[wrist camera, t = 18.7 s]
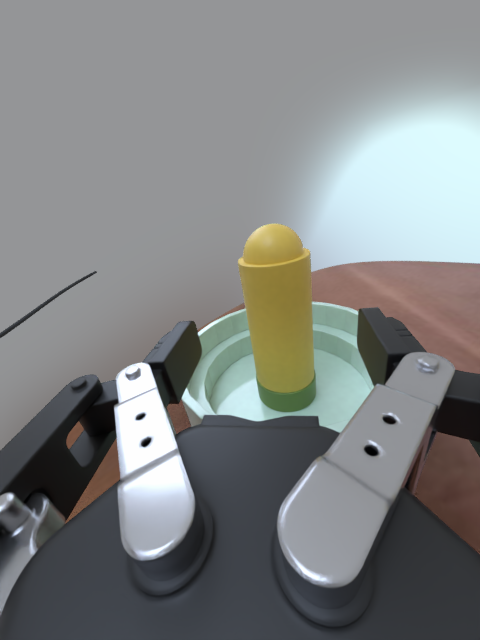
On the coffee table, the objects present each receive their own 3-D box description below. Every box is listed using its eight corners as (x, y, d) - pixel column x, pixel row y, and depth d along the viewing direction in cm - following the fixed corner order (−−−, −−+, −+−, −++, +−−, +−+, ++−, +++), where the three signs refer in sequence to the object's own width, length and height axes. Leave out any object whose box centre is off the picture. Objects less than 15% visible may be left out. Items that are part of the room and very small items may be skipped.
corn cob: (247, 389, 23) (217, 231, 17) (287, 365, 25) (274, 217, 19) (285, 423, 19) (263, 234, 13) (328, 391, 21) (328, 215, 15)
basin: (191, 364, 30) (178, 323, 27) (328, 330, 31) (328, 289, 29) (195, 539, 14) (167, 481, 12) (463, 454, 16) (488, 389, 13)
